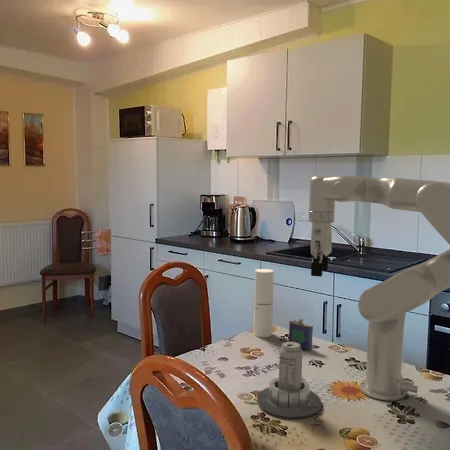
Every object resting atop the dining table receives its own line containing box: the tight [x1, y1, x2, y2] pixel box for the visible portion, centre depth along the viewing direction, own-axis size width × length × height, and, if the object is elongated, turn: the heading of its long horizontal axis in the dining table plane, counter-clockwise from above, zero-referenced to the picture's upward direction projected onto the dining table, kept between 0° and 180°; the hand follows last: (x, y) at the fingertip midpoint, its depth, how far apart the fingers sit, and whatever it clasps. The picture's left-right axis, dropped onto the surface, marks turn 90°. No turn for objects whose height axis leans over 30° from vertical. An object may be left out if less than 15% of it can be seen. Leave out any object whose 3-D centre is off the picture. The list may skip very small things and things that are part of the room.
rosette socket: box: [256, 376, 322, 420], centre depth 129 cm, size 17×17×5 cm
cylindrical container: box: [253, 268, 275, 338], centre depth 185 cm, size 7×7×25 cm
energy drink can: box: [278, 341, 303, 391], centre depth 129 cm, size 6×6×15 cm
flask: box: [288, 318, 314, 352], centre depth 172 cm, size 9×3×11 cm, turn 52°
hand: (319, 273), depth 147 cm, fingers open, 9 cm apart
